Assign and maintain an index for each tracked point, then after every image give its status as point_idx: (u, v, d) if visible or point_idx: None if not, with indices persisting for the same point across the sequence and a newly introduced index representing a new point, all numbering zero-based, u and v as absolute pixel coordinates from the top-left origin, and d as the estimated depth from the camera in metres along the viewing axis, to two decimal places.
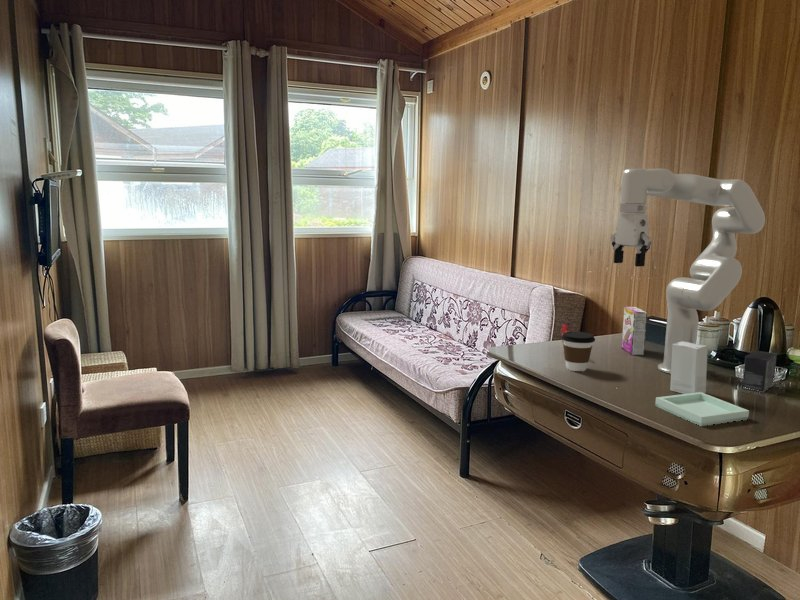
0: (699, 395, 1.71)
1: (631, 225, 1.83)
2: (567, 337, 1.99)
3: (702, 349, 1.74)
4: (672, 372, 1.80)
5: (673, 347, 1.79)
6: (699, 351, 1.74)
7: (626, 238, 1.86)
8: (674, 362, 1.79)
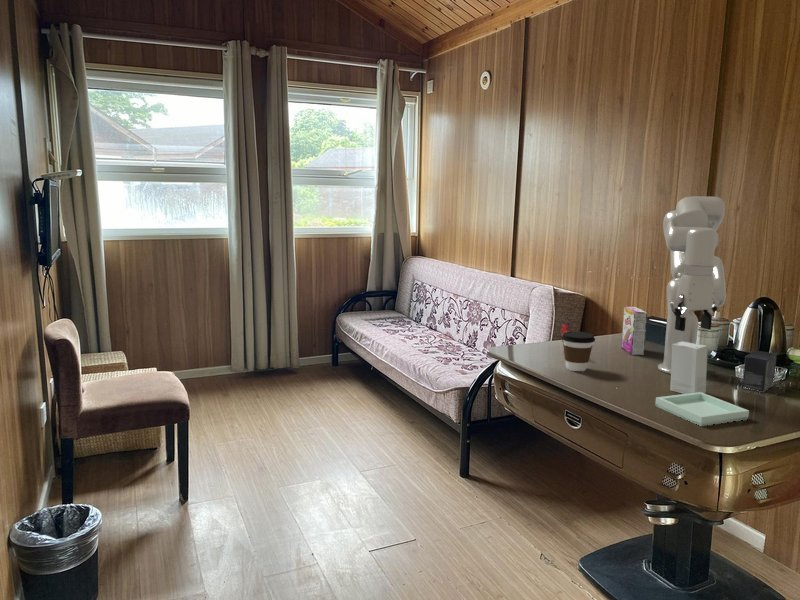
0: (699, 395, 1.71)
1: (710, 288, 1.73)
2: (567, 337, 1.99)
3: (702, 349, 1.74)
4: (672, 372, 1.80)
5: (672, 347, 1.79)
6: (699, 351, 1.74)
7: (703, 302, 1.73)
8: (674, 362, 1.79)
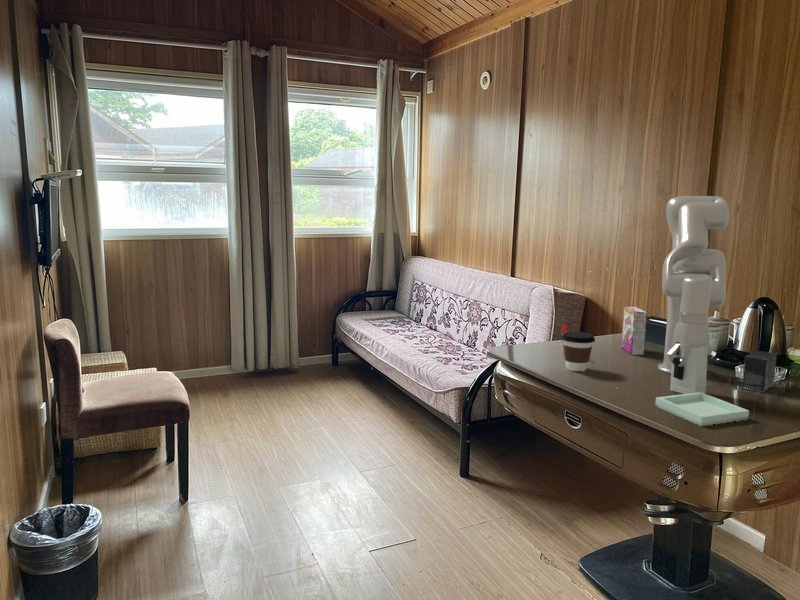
0: (699, 395, 1.71)
1: (705, 335, 1.76)
2: (567, 337, 1.99)
3: (702, 349, 1.74)
4: (672, 372, 1.80)
5: None
6: (699, 351, 1.74)
7: None
8: None
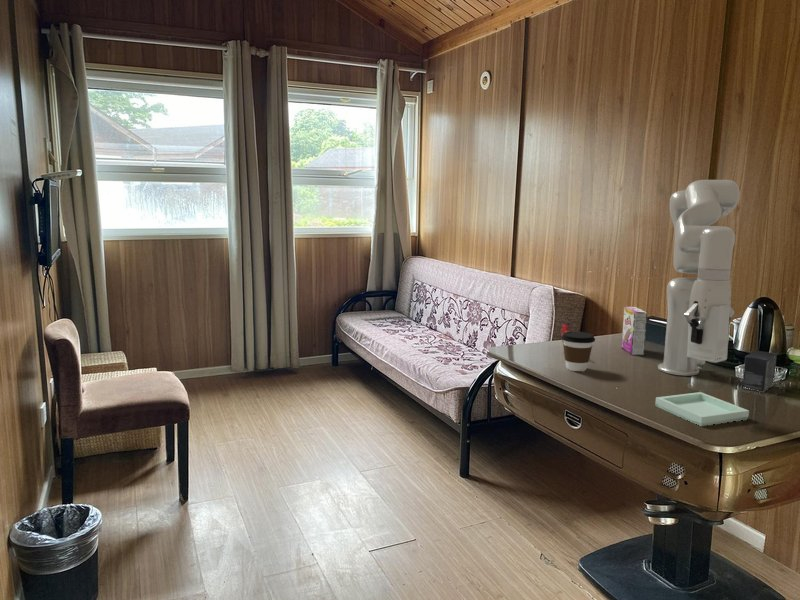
0: (699, 395, 1.71)
1: (727, 294, 1.56)
2: (567, 337, 1.99)
3: (724, 308, 1.55)
4: (689, 336, 1.61)
5: None
6: (721, 311, 1.54)
7: None
8: None
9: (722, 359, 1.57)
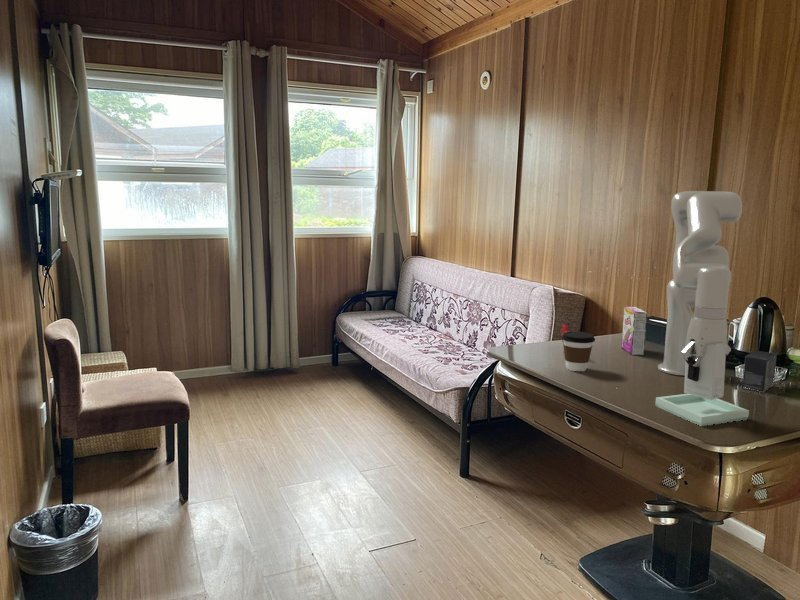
0: None
1: (723, 332, 1.58)
2: (567, 337, 1.99)
3: (720, 347, 1.56)
4: (686, 372, 1.62)
5: None
6: (717, 349, 1.56)
7: None
8: None
9: (719, 396, 1.59)
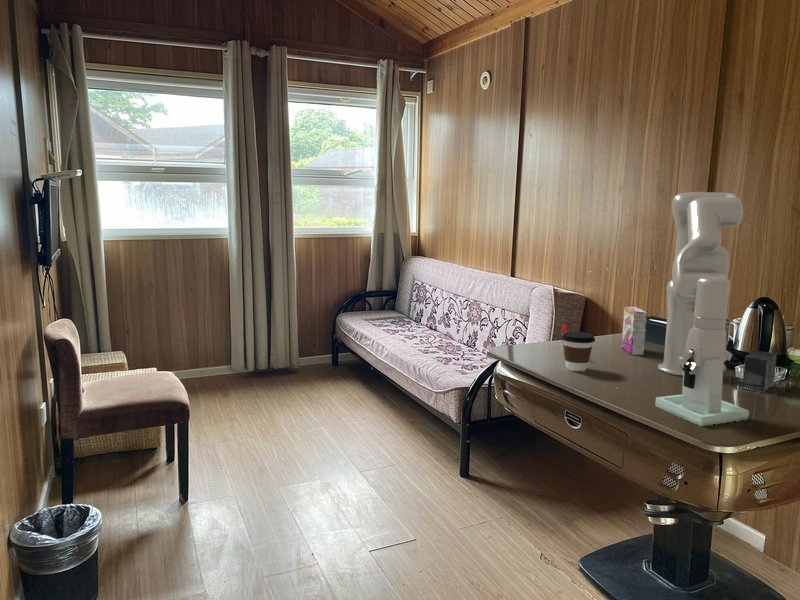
0: None
1: (722, 342, 1.58)
2: (567, 337, 1.99)
3: (717, 362, 1.57)
4: (684, 387, 1.63)
5: None
6: (714, 365, 1.56)
7: (715, 357, 1.58)
8: None
9: (716, 411, 1.60)
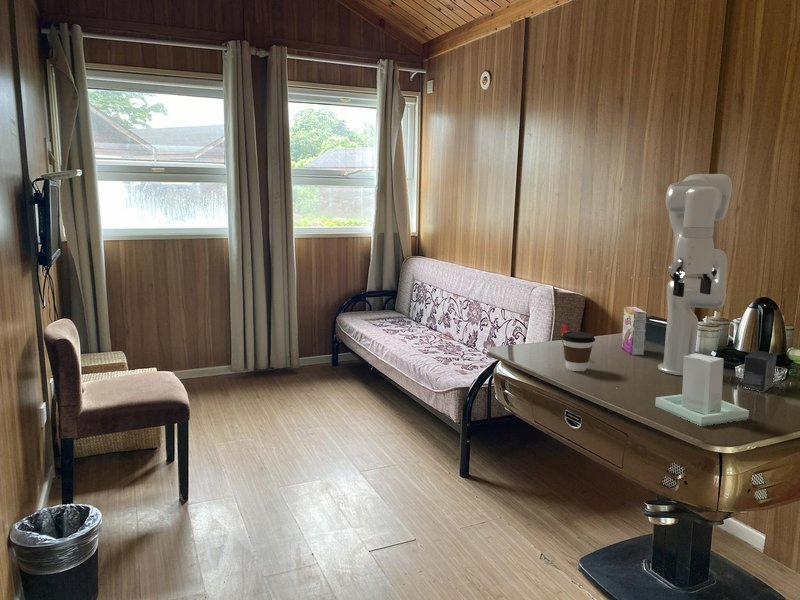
0: None
1: (710, 251, 1.64)
2: (567, 337, 1.99)
3: (717, 362, 1.57)
4: (684, 387, 1.63)
5: (684, 359, 1.62)
6: (714, 365, 1.56)
7: (703, 266, 1.64)
8: (686, 376, 1.62)
9: (716, 411, 1.60)
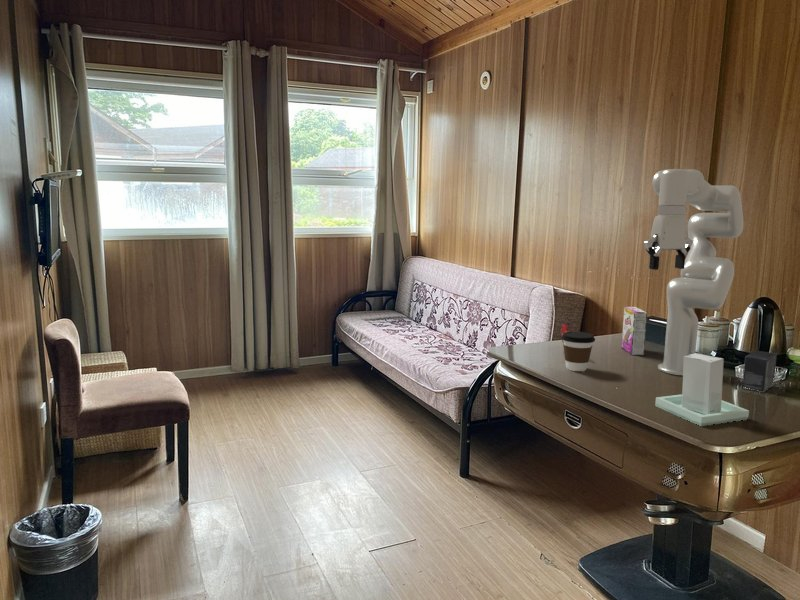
0: None
1: (683, 228, 1.78)
2: (567, 337, 1.99)
3: (717, 362, 1.57)
4: (684, 387, 1.63)
5: (684, 359, 1.62)
6: (714, 365, 1.56)
7: (677, 241, 1.78)
8: (686, 376, 1.62)
9: (716, 411, 1.60)
